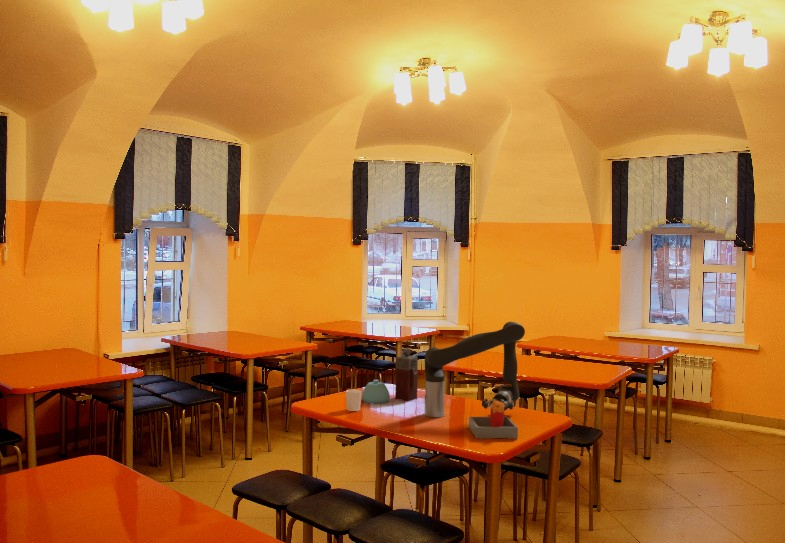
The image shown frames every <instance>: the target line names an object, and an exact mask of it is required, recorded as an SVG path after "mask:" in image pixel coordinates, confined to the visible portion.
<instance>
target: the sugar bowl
mask: <svg viewBox="0 0 785 543" xmlns="http://www.w3.org/2000/svg"><path fill="white" fill-rule="evenodd" d="M390 396H391V395H390V391H389V389H388V388H387V385H386V384H385V383H384V382H380V381H379V379H373V381H369V382H368V383H367V384H366V386H365V387H364V388H363V390H362V392H361V400H362V401H363V402H364V403H366V402H367V404H370V403H374V404H373V405H378V403H382V404H386V403H387V402H388V401H389V400H390V399H391V398H390ZM385 402H386V403H385Z"/></svg>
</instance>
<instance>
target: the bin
mask: <svg viewBox="0 0 785 543" xmlns="http://www.w3.org/2000/svg"><path fill="white" fill-rule="evenodd" d="M490 417H491V416H468V429H469V428H470V429H469V430H470V432H471V433H472V434H473V436H474V435H475V436H474V437H475V439H476V438H477V439H476V440H486V439H485V438H508V439H507V440H517V439H519V436H518V435H519V427H518V425H516V424H515V423H514V422H513V421H512V420H511V418H509V417H508V416H504V420H503V427H490ZM478 438H480V439H478ZM482 438H484V439H482Z"/></svg>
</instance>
